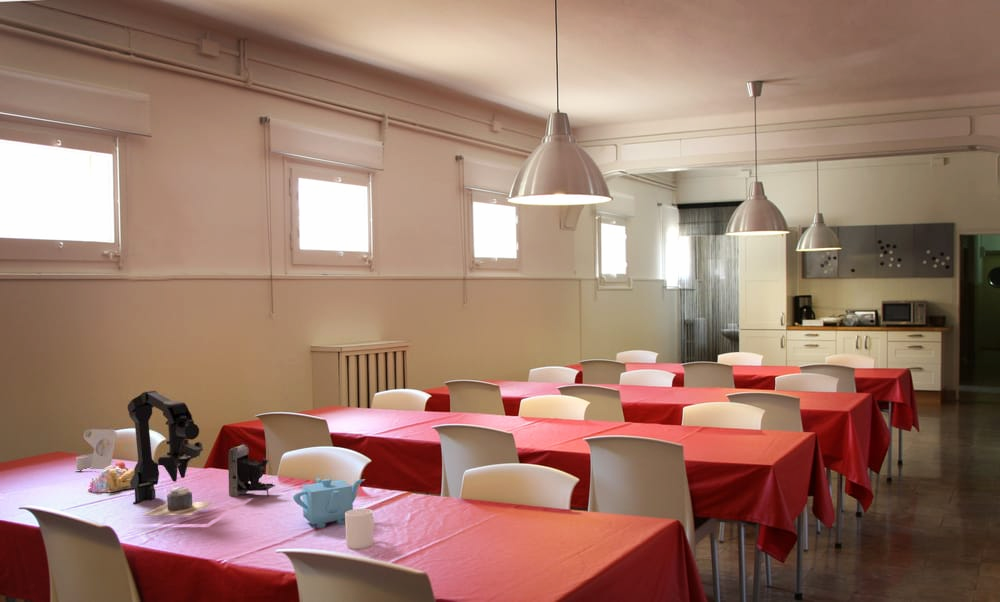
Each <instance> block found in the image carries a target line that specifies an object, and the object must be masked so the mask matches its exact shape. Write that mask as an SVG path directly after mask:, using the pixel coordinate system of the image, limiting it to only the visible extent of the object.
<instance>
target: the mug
mask: <svg viewBox="0 0 1000 602" xmlns="http://www.w3.org/2000/svg"><path fill="white" fill-rule="evenodd" d="M344 520H345V524H344V525H345V542H346V547H347V548H348V549H351V550H363V549H368V548H371V547H372V546H373V544H374V528H375V527H374V526H375V520H374V515H373V510H372V509H369V508H355V509H354V508H353V510H350V511H347V512H346V513H345V519H344Z"/></svg>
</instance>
